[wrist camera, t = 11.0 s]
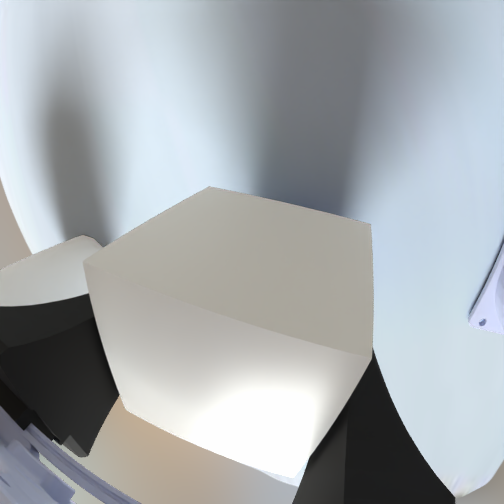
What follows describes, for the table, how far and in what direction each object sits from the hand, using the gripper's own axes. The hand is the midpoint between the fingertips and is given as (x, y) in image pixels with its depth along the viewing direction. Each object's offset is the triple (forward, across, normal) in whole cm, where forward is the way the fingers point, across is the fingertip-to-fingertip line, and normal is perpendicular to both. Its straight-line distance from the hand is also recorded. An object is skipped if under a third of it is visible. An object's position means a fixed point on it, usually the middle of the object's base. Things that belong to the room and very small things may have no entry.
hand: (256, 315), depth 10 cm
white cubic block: (+2, 0, 0) cm, 2 cm away
